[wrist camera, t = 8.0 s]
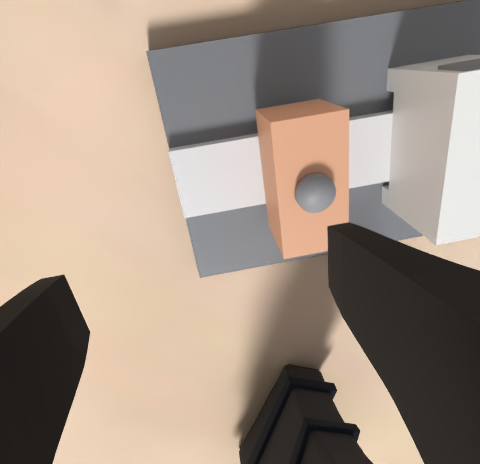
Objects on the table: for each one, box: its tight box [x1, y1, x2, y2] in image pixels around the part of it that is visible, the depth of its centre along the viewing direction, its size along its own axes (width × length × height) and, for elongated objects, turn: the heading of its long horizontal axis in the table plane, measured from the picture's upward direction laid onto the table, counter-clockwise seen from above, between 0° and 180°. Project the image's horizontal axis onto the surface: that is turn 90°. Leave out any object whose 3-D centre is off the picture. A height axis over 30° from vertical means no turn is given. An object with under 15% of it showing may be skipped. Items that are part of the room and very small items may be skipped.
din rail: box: [146, 0, 480, 278], centre depth 18 cm, size 20×12×3 cm, turn 98°
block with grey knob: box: [255, 99, 349, 259], centre depth 16 cm, size 3×6×4 cm, turn 8°
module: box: [382, 55, 480, 245], centre depth 16 cm, size 4×7×5 cm, turn 8°
